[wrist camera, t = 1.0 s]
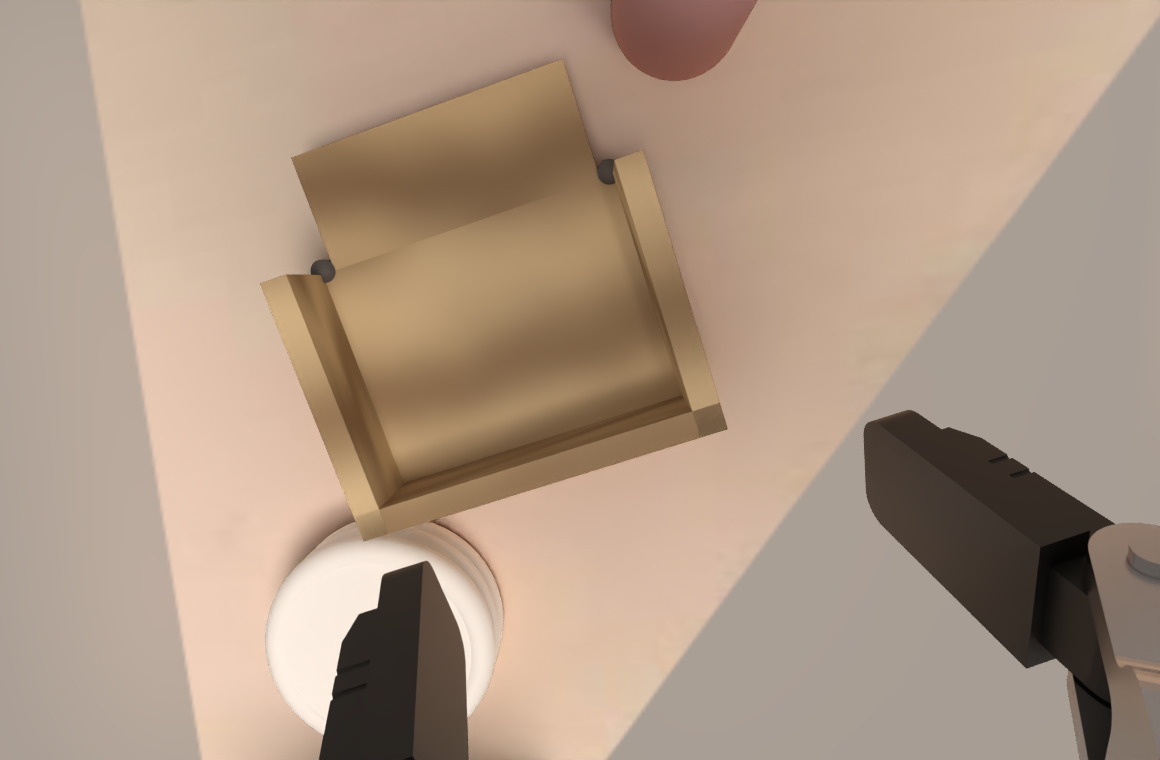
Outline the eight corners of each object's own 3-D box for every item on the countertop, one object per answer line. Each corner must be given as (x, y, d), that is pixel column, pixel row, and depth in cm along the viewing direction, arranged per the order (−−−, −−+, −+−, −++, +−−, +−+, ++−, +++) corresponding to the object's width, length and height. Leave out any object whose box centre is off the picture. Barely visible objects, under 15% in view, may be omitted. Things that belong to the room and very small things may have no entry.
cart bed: (287, 180, 27) (208, 156, 22) (600, 66, 26) (601, 11, 20) (407, 492, 29) (363, 541, 24) (702, 399, 28) (727, 429, 23)
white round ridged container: (463, 734, 31) (446, 791, 28) (271, 661, 31) (230, 710, 28) (536, 558, 30) (528, 595, 26) (335, 479, 29) (300, 506, 26)
